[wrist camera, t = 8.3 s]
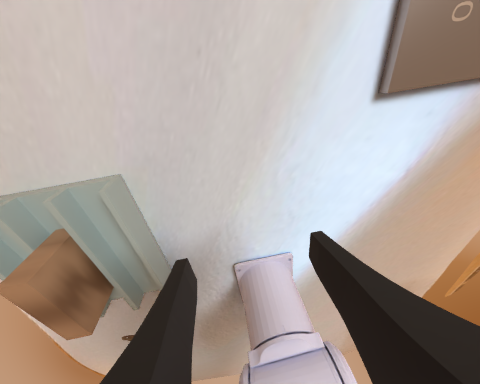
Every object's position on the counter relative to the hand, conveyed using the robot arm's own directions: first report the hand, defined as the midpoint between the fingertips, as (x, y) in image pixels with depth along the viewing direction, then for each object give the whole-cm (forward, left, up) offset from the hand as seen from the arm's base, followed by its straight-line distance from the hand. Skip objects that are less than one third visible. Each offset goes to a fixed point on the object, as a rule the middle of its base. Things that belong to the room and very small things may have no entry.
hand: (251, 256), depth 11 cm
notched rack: (-5, +17, -9) cm, 20 cm away
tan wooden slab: (-5, +16, -8) cm, 19 cm away
